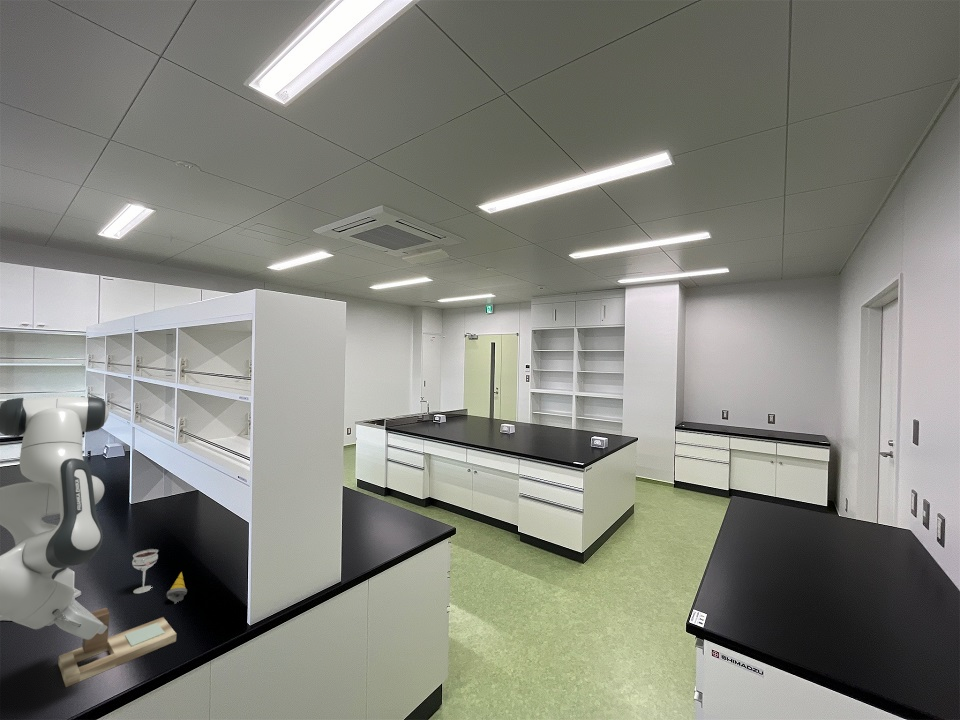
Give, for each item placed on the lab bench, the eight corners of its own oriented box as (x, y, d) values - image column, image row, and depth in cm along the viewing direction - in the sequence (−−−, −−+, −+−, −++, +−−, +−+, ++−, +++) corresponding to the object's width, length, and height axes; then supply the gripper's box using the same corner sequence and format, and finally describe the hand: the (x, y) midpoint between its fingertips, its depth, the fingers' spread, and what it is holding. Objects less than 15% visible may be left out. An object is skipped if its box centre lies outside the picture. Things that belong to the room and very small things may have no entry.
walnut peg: (82, 646, 99) (84, 614, 99) (103, 638, 102) (106, 607, 102) (85, 653, 96) (87, 620, 97) (107, 645, 99) (109, 613, 100)
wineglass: (144, 583, 137) (147, 548, 137) (161, 585, 136) (163, 550, 136) (124, 593, 130) (127, 556, 131) (141, 595, 129) (144, 558, 130)
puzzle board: (58, 663, 98) (59, 654, 98) (162, 624, 115) (163, 616, 115) (65, 687, 91) (66, 677, 91) (176, 641, 107) (176, 632, 108)
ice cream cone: (160, 607, 124) (167, 574, 131) (178, 608, 127) (185, 576, 134) (170, 599, 122) (177, 567, 129) (188, 600, 126) (194, 569, 133)
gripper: (77, 604, 89) (128, 626, 97) (48, 579, 99) (96, 601, 107) (47, 635, 85) (103, 655, 93) (19, 606, 95) (72, 626, 103)
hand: (99, 626), depth 100 cm, fingers closed on walnut peg, 4 cm apart
